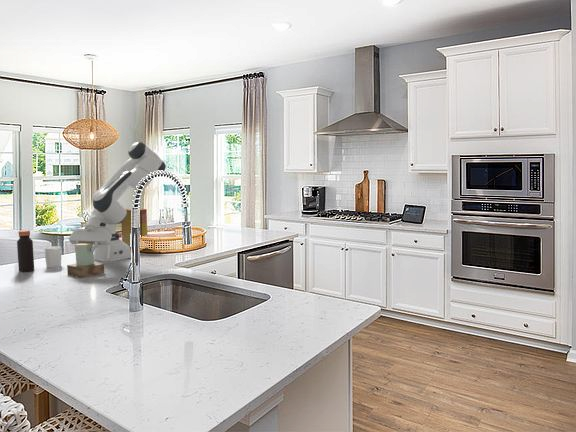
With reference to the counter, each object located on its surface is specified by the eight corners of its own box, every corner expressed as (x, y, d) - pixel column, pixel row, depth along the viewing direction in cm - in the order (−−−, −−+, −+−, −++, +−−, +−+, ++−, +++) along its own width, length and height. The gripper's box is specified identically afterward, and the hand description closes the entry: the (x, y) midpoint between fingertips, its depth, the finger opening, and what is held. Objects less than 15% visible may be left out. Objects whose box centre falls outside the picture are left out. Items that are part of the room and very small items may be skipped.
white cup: (41, 267, 242) (40, 248, 241) (55, 264, 249) (54, 245, 248) (51, 268, 239) (50, 249, 238) (65, 265, 246) (64, 246, 245)
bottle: (27, 272, 230) (25, 231, 228) (15, 272, 231) (12, 231, 229) (37, 269, 237) (35, 230, 235) (25, 269, 238) (23, 229, 236)
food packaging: (148, 247, 300) (147, 208, 297) (142, 250, 290) (141, 210, 288) (128, 247, 301) (126, 208, 298) (121, 250, 292) (120, 210, 289)
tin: (83, 263, 229) (82, 242, 228) (94, 263, 228) (92, 242, 227) (76, 265, 224) (74, 244, 223) (87, 265, 223) (85, 244, 222)
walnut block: (91, 271, 235) (91, 261, 234) (104, 274, 227) (103, 264, 227) (67, 275, 226) (67, 265, 225) (80, 278, 218) (79, 268, 218)
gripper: (73, 223, 233) (61, 246, 224) (111, 224, 229) (100, 247, 220) (79, 231, 238) (67, 253, 229) (116, 232, 234) (106, 255, 225)
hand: (84, 250), depth 225 cm, fingers open, 6 cm apart
